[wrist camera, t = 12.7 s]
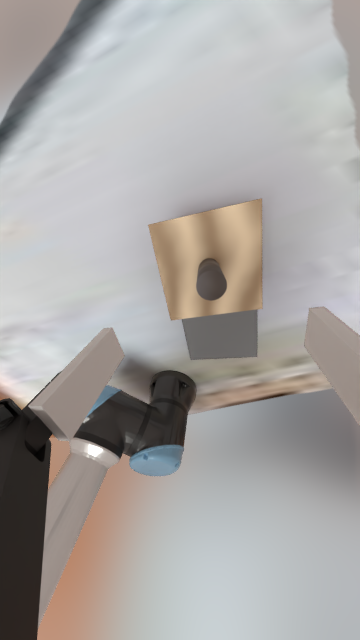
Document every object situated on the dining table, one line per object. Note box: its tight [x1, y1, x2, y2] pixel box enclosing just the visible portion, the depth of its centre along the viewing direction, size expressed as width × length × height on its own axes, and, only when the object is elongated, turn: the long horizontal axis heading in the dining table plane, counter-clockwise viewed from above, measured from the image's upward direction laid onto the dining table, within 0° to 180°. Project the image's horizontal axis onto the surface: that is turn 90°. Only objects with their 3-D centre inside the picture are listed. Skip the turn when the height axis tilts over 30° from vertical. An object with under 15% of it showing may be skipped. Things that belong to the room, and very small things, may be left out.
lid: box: [148, 199, 262, 320], centre depth 24 cm, size 15×15×10 cm
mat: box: [182, 309, 257, 360], centre depth 47 cm, size 18×18×1 cm
